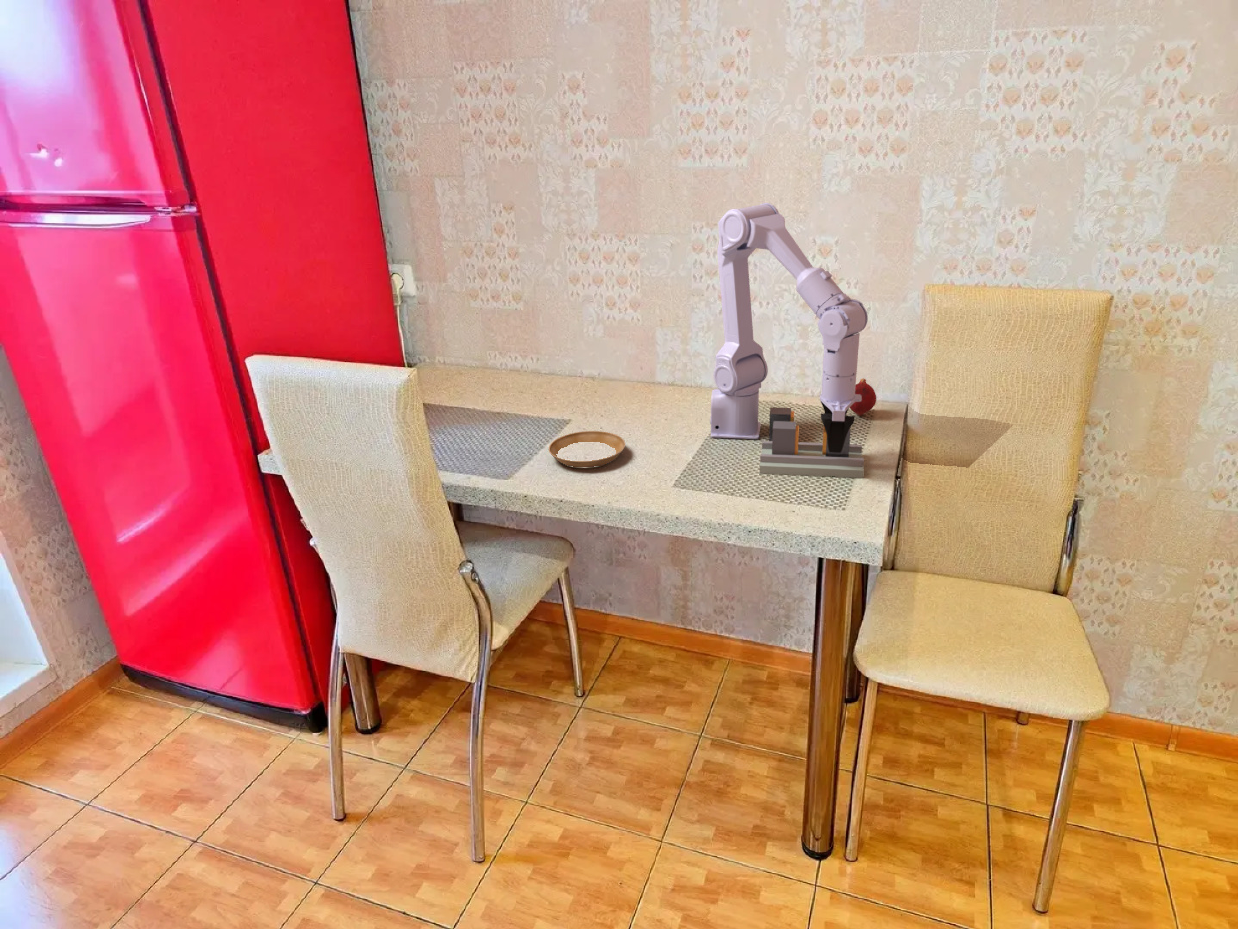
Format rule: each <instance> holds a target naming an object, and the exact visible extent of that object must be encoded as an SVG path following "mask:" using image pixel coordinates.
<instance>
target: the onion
mask: <svg viewBox="0 0 1238 929" xmlns="http://www.w3.org/2000/svg"><path fill="white" fill-rule="evenodd" d="M855 394H860V395H861V397H862V400H861V402H854V403H853V404H852V405H851V406H850V408H849V410H851V411H852V412H853V413H854V414H856V415H857V416H859V417H860V416H864V415H866V414H867V413H869V412H871V410H872V409H874V406H876V403H877V394H876V392H875V389H874V388H873V387H872V386H871V384H869V383H867V379H866V378H864V377H863V378H861V379H860V381H859V382H858V383H856V386H855Z"/></svg>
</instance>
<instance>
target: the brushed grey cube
mask: <svg viewBox="0 0 1238 929" xmlns="http://www.w3.org/2000/svg"><path fill="white" fill-rule="evenodd" d="M851 431H852V430H851V427H850V429H849V431H848V433H847V435H846V439H845V442H844V446H843V449H842V451H841V453H836V452H829V449H828V443H827V434H826V430H825V427H824V425H823V429H822V442H821V443H822V455H825V457H845V458H849V447H850V444H851Z"/></svg>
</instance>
